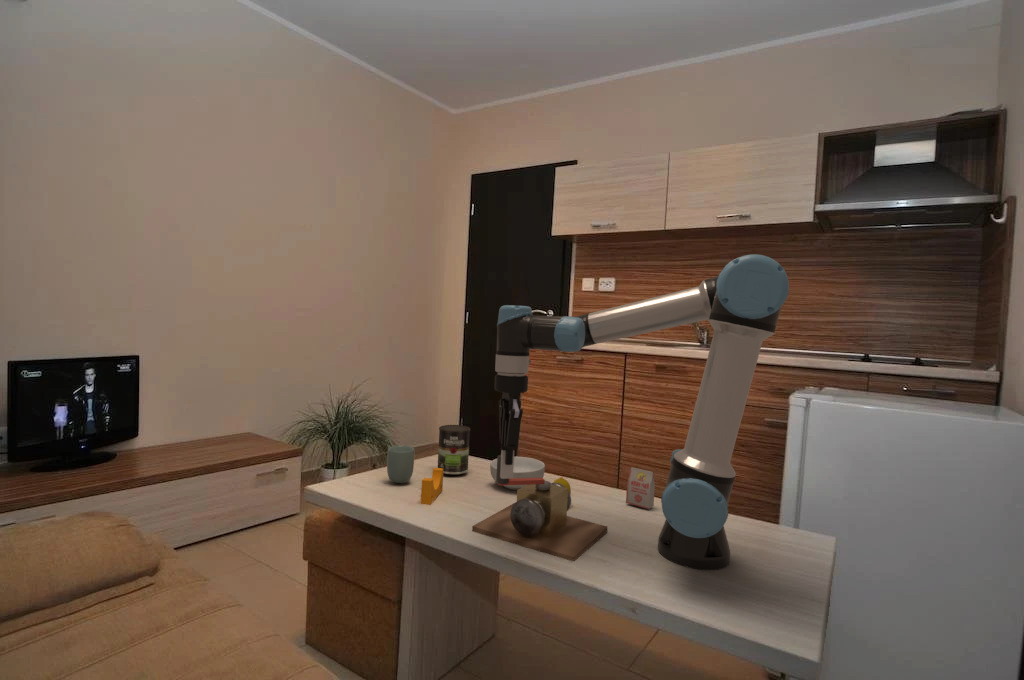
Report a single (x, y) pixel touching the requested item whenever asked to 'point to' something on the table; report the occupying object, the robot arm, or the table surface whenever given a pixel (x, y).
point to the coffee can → (453, 448)
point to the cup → (400, 463)
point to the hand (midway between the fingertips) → (506, 477)
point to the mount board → (561, 544)
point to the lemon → (563, 483)
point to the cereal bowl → (521, 470)
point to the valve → (540, 510)
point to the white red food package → (640, 488)
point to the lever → (521, 479)
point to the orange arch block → (432, 486)
